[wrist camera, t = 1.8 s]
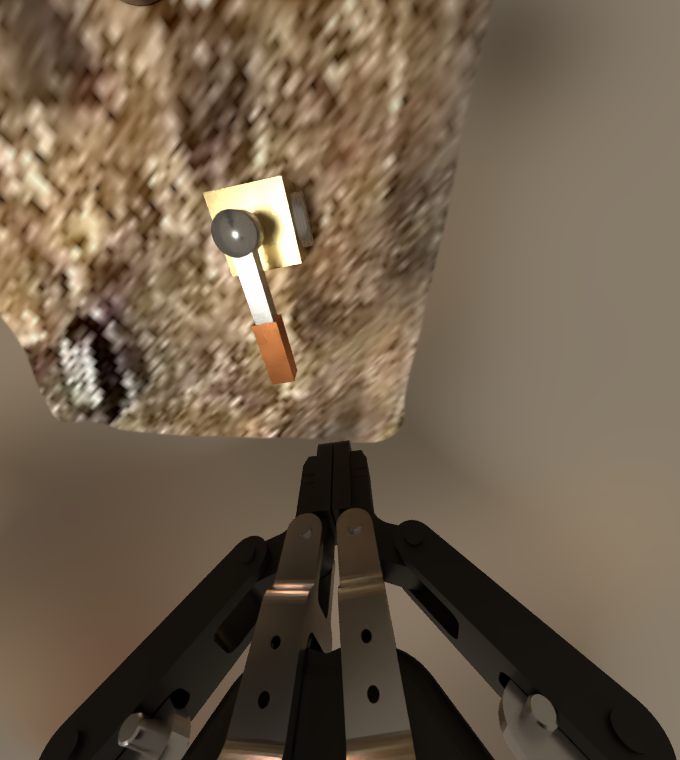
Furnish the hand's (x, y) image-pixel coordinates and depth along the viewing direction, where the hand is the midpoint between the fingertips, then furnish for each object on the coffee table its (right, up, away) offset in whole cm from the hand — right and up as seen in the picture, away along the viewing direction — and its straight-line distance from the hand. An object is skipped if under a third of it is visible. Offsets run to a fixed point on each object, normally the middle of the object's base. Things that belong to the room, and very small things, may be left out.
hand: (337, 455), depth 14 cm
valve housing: (-8, +21, +18) cm, 29 cm away
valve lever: (-7, +11, +12) cm, 17 cm away
